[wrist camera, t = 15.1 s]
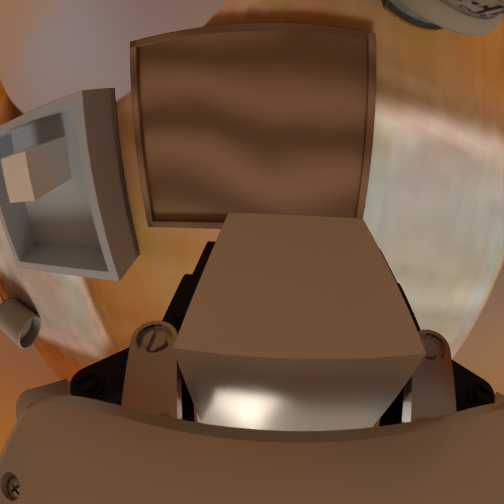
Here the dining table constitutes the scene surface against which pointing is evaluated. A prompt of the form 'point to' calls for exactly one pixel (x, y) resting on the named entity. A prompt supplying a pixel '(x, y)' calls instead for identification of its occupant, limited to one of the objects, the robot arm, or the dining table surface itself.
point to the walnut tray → (253, 121)
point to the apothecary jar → (449, 14)
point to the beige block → (36, 170)
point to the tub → (73, 192)
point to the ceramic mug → (19, 323)
